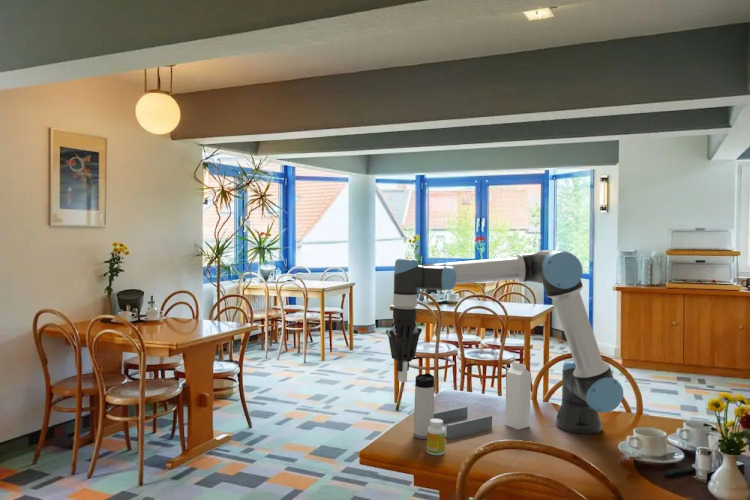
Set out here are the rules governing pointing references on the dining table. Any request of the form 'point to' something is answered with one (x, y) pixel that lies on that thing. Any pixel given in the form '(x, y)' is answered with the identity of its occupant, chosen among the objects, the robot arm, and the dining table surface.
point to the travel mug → (423, 404)
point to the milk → (518, 396)
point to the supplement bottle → (436, 437)
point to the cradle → (462, 422)
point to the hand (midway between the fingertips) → (402, 381)
